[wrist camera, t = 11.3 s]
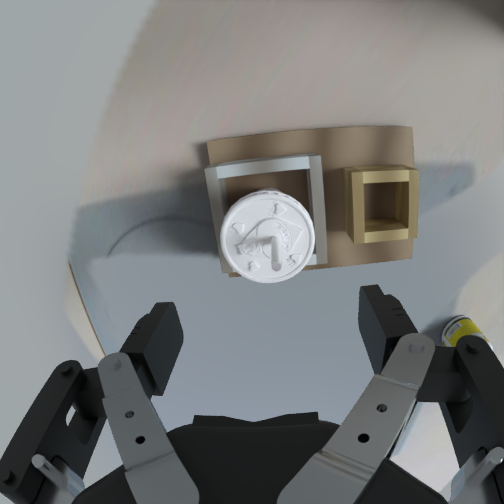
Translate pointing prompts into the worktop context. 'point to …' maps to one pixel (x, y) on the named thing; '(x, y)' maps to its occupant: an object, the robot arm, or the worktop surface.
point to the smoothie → (267, 236)
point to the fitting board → (327, 188)
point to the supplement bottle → (460, 331)
